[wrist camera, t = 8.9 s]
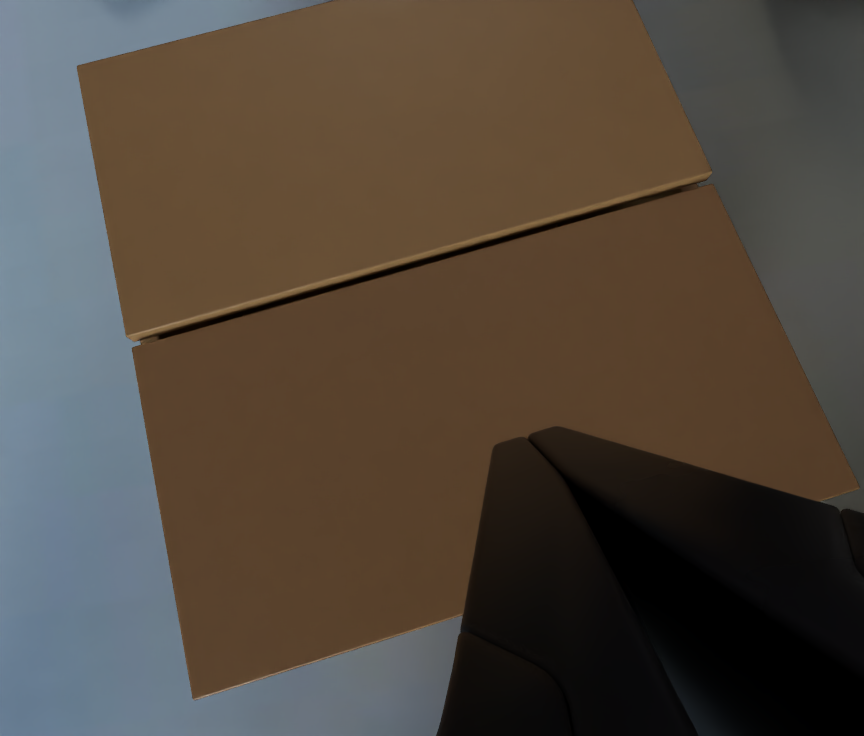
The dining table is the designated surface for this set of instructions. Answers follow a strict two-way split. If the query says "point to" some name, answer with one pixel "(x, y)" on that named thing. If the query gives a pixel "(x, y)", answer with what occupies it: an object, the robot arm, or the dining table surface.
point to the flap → (450, 421)
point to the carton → (369, 146)
